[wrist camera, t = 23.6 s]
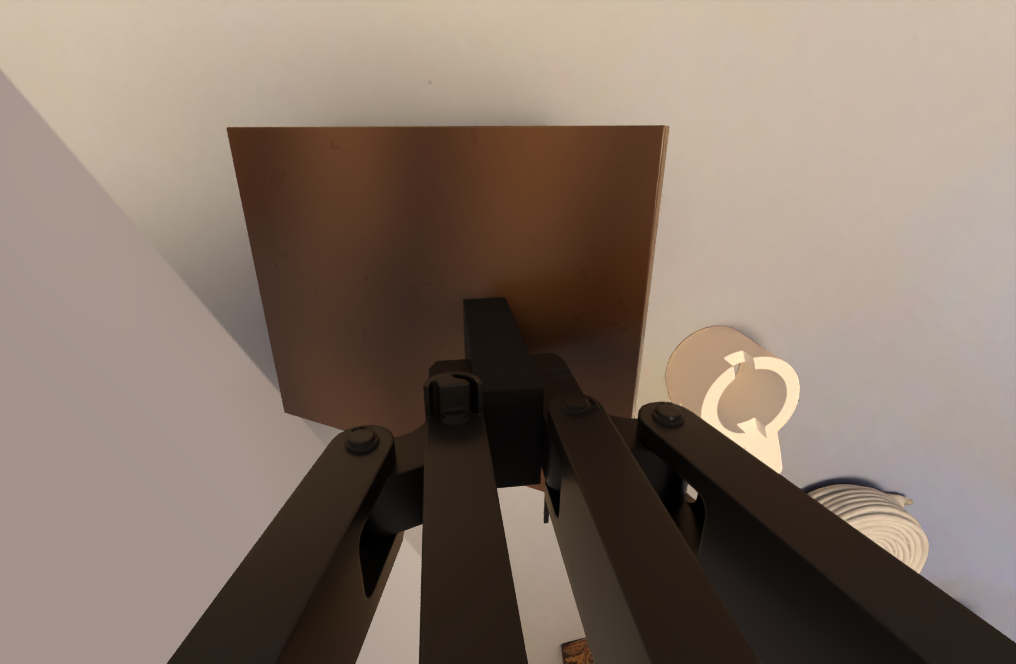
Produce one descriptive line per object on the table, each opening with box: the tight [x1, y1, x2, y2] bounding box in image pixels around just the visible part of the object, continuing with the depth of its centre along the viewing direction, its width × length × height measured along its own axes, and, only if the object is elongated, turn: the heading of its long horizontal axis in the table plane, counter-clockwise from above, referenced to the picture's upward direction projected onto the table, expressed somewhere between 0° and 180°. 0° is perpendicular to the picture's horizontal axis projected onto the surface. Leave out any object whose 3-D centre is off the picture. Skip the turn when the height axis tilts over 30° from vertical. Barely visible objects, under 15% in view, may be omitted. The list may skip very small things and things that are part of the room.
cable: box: [807, 484, 929, 574], centre depth 55 cm, size 18×18×6 cm
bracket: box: [666, 326, 800, 474], centre depth 46 cm, size 20×9×7 cm, turn 20°
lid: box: [227, 125, 669, 492], centre depth 19 cm, size 17×14×1 cm
